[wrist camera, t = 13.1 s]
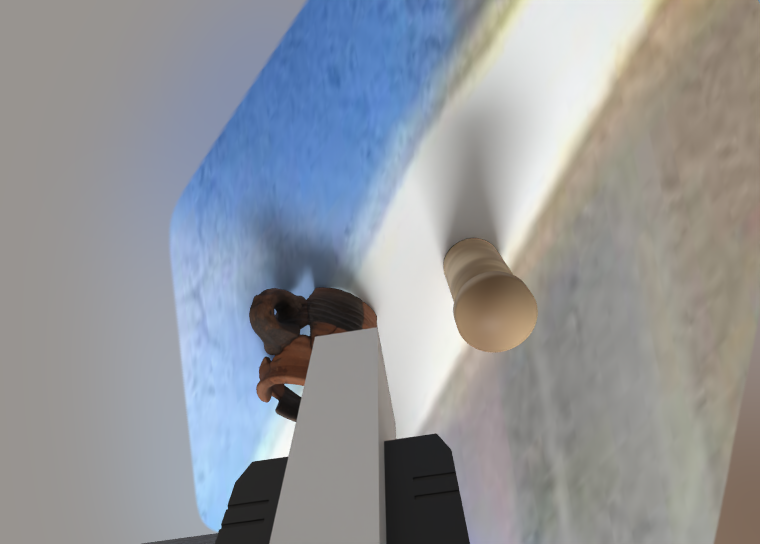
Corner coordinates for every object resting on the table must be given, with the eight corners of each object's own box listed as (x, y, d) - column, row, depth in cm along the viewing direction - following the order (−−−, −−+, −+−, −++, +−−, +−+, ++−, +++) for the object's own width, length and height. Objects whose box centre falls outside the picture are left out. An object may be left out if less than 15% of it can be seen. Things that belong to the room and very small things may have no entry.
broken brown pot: (409, 332, 45) (390, 425, 40) (327, 356, 51) (301, 441, 45) (309, 238, 39) (271, 332, 34) (228, 277, 45) (184, 364, 39)
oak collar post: (501, 229, 42) (534, 272, 33) (507, 290, 43) (540, 345, 35) (435, 240, 42) (451, 285, 33) (443, 300, 44) (460, 357, 35)
